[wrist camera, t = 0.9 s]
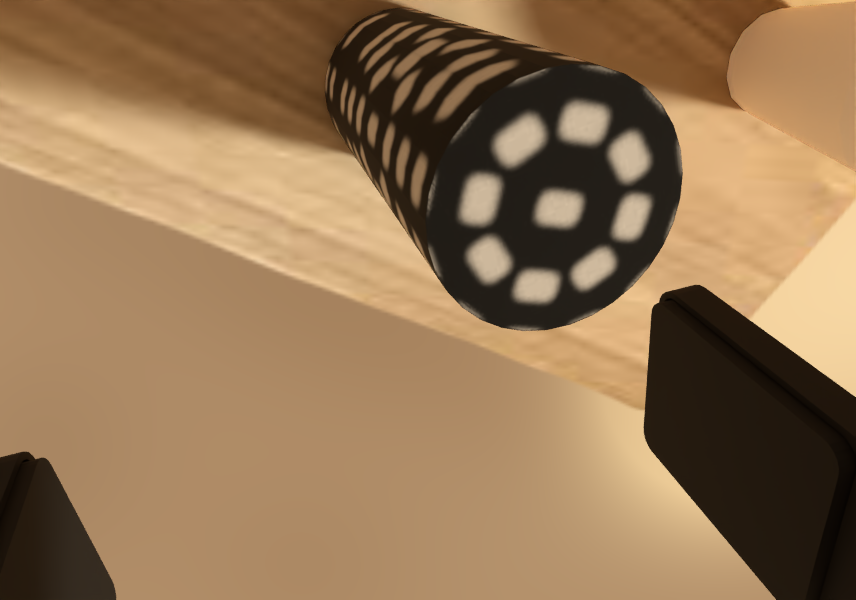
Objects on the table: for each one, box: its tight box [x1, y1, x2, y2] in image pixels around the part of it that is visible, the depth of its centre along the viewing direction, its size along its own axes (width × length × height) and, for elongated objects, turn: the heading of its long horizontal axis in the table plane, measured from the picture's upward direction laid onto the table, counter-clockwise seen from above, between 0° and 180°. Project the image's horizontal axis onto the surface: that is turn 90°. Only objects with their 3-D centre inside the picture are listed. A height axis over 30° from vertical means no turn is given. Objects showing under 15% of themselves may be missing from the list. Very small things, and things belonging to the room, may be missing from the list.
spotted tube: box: [325, 8, 683, 331], centre depth 29 cm, size 8×8×20 cm
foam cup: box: [726, 2, 856, 171], centre depth 37 cm, size 10×9×13 cm
